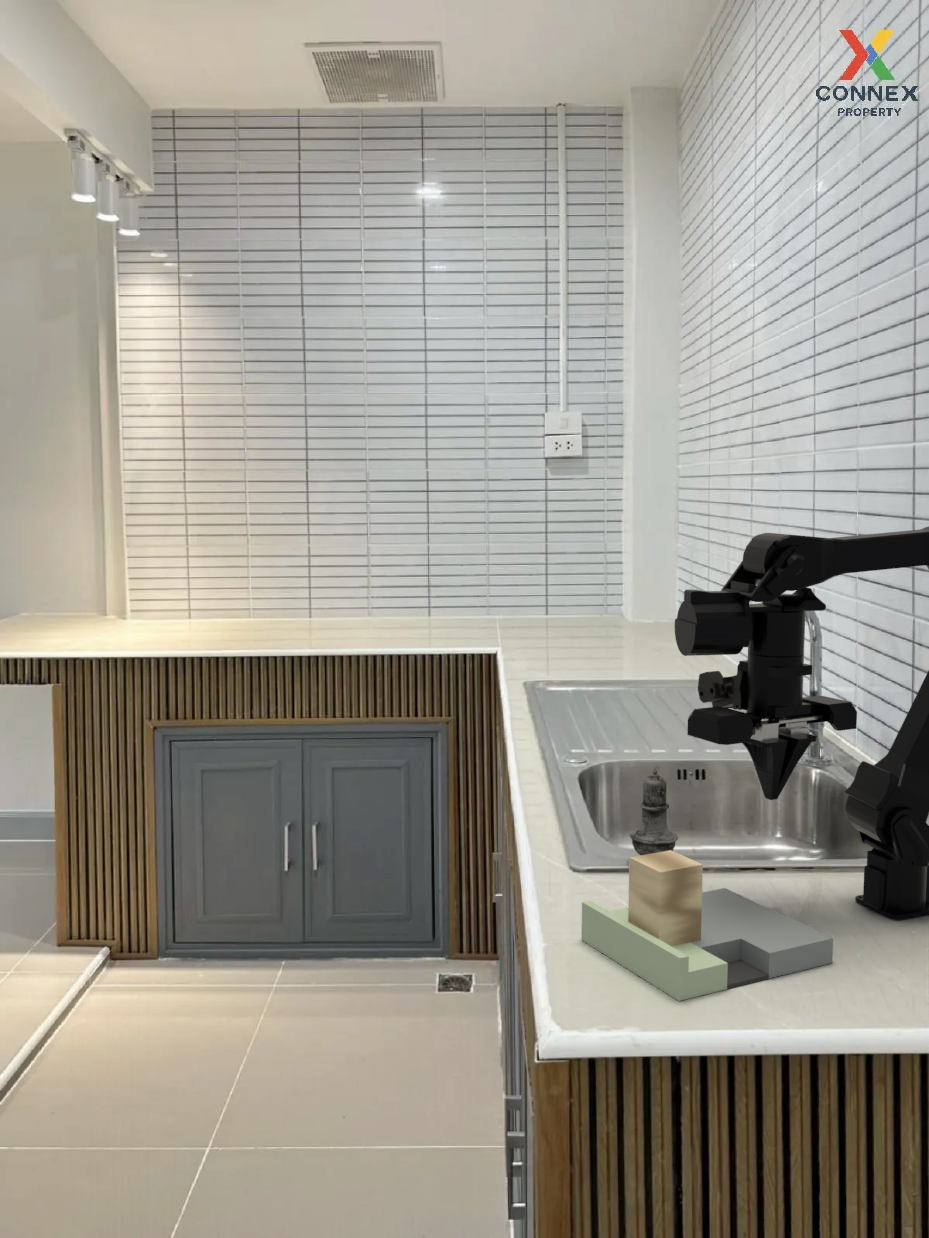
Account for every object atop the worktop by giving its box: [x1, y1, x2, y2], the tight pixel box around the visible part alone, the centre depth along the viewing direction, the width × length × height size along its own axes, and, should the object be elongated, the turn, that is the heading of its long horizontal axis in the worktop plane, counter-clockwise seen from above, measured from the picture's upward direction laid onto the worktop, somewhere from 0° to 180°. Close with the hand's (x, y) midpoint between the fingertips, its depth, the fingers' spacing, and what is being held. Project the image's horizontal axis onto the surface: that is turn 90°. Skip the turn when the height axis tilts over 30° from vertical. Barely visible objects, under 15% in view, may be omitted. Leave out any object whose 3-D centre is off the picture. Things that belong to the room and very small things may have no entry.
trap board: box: [581, 887, 834, 1002], centre depth 116 cm, size 18×16×4 cm
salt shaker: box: [629, 767, 679, 856], centre depth 142 cm, size 6×6×12 cm
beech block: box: [627, 850, 704, 946], centre depth 113 cm, size 5×5×8 cm
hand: (771, 798), depth 124 cm, fingers closed
